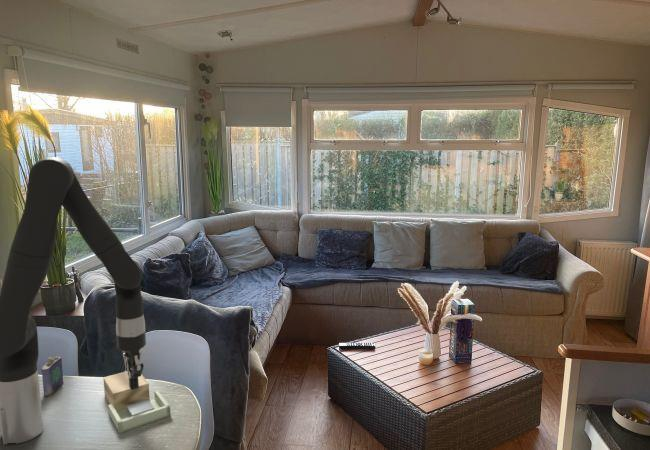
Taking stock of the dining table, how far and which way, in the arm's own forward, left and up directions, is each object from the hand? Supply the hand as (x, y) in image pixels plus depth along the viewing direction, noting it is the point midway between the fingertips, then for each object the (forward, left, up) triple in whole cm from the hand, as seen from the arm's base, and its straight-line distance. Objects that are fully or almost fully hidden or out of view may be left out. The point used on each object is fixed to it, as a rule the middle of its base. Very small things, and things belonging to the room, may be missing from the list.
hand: (134, 388), depth 135 cm
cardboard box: (0, +10, -8) cm, 13 cm away
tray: (+1, -2, -8) cm, 8 cm away
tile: (+1, -2, -5) cm, 6 cm away
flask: (-17, +30, -8) cm, 35 cm away
